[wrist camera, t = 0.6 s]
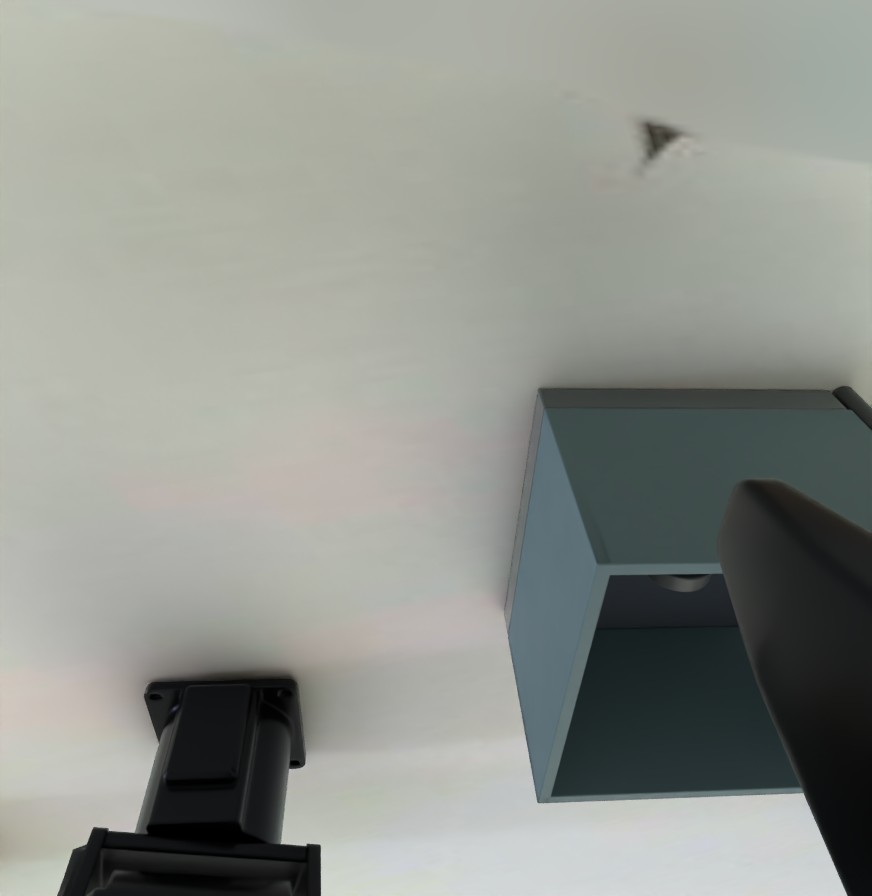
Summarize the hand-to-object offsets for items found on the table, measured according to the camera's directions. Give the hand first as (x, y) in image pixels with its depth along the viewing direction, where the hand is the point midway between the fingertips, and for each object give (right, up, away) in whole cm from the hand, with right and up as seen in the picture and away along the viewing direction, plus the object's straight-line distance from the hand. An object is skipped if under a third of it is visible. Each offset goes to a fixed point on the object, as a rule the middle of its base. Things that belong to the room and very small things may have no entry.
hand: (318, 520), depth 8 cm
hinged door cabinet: (+9, -2, +19) cm, 22 cm away
